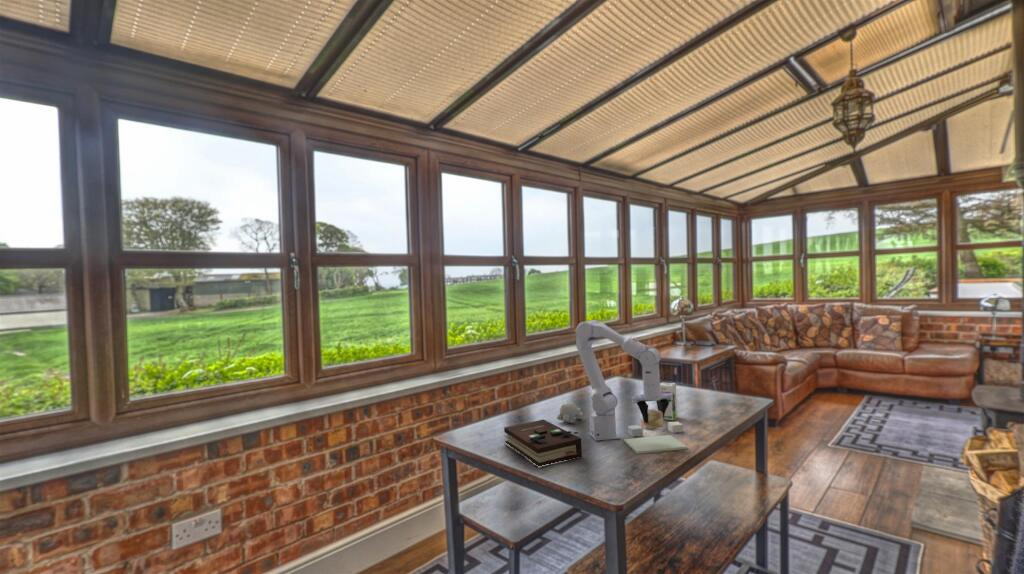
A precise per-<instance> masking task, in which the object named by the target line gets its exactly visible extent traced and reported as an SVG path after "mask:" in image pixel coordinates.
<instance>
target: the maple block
mask: <svg viewBox="0 0 1024 574" xmlns="http://www.w3.org/2000/svg"><path fill="white" fill-rule="evenodd" d="M644 425H646V426H647V427H648V428H655V429H656V428H658V429H659V428H664V419H663V413H662V412H661V411H659V410H658V408H652V409H648V423H645V422H644Z"/></svg>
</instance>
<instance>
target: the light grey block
mask: <svg viewBox="0 0 1024 574" xmlns="http://www.w3.org/2000/svg"><path fill="white" fill-rule="evenodd" d="M667 430H668V431H669V432H671V433H672V434H676V433H677V432H678V433H683V432H684V429H683V423H681V422H679V421H678V420H677V421H668V422H667Z"/></svg>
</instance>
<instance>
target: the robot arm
mask: <svg viewBox="0 0 1024 574" xmlns="http://www.w3.org/2000/svg"><path fill="white" fill-rule="evenodd" d="M574 333H575V334H576V339H575V341H576V343H575V347H576V349H577V352H578V354H579V358H580V361H581V363H582V365H583V368H584V371H585V373H586V376H587V378H588V379H587V380H588V381H589V384H590V387H591V390H592V391H591V394H590V397H591V403H592V404H591V407H592V410H593V411H594V413H591V414H590V415H589V418H588V419H589V435H590V436H591V437H592V438H593V439H594V441H596V442H597V441H607V440H616V439H619V440H620V439H621V436H620V435H618V433H617V426H616V425H617V424H616V421H617V420H616V408H617V406H618V398H617V396H616V395H615V394H614V393H613V391H612V389H611V388H610V387H609V386H608V385H607V384H606V381H605V379H604V376H603V374H602V371H601V368H600V365H599V363H598V360H597V358H596V355H595V352H594V350H593V347H592V346H593V344H594V342H595V340H596V338H599V337H600V338H601V337H603V338H605V339H607V340H609V341H611V342H613V343H615V344H617V345H619V346H620V347H621V349H622V351H623V352H624V353H626V354H628V355H629V356H631V357H633V358H635V359H636V360H638V362H639V363H640V364H641V367H642V386H643V387H642V390H643V393H642V394H640V395H639V394H638V395H633V396H631V403H633V404H636V405H637V407H638V409H639V411H640V413H641V416H642V419H643V421H644V422H645V423H648V410H649V405H648V403H647V402H656V406H657V410H659V411H661V412H662V413H663V418H664V414H665V411H666V409H667V407H668V405H669V402H668V401H667V400H673V394H671V393H660V384H661V377H660V376H661V375H660V364H659V363H660V362H661V360H662V355H661V352H660V351H659V350H658V349H657V348H656V347H650V345H648V344H644V343H642V342H640V341H638V338H637V337H631V336H630V337H627V338H626V337H625V336H624V335H622V334H620V333H619V332H617V331H616V330H615V329H614V330H613V329H612V328H611V327H609V326H607V325H606V324H605V323H604V322H601V321H599V320H597V319H592V320H588V321H581V322H579V323H578V325H577V326H576V328H575V330H574Z"/></svg>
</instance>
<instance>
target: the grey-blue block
mask: <svg viewBox="0 0 1024 574" xmlns="http://www.w3.org/2000/svg"><path fill="white" fill-rule="evenodd" d="M627 432H628V433H627V434H628V435H630V437H632V438H634V437H635V436H637V437H643V436H644V435H643V427H642V426H641V425H638V424H635V425H628V426H627ZM635 438H636V437H635Z"/></svg>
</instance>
